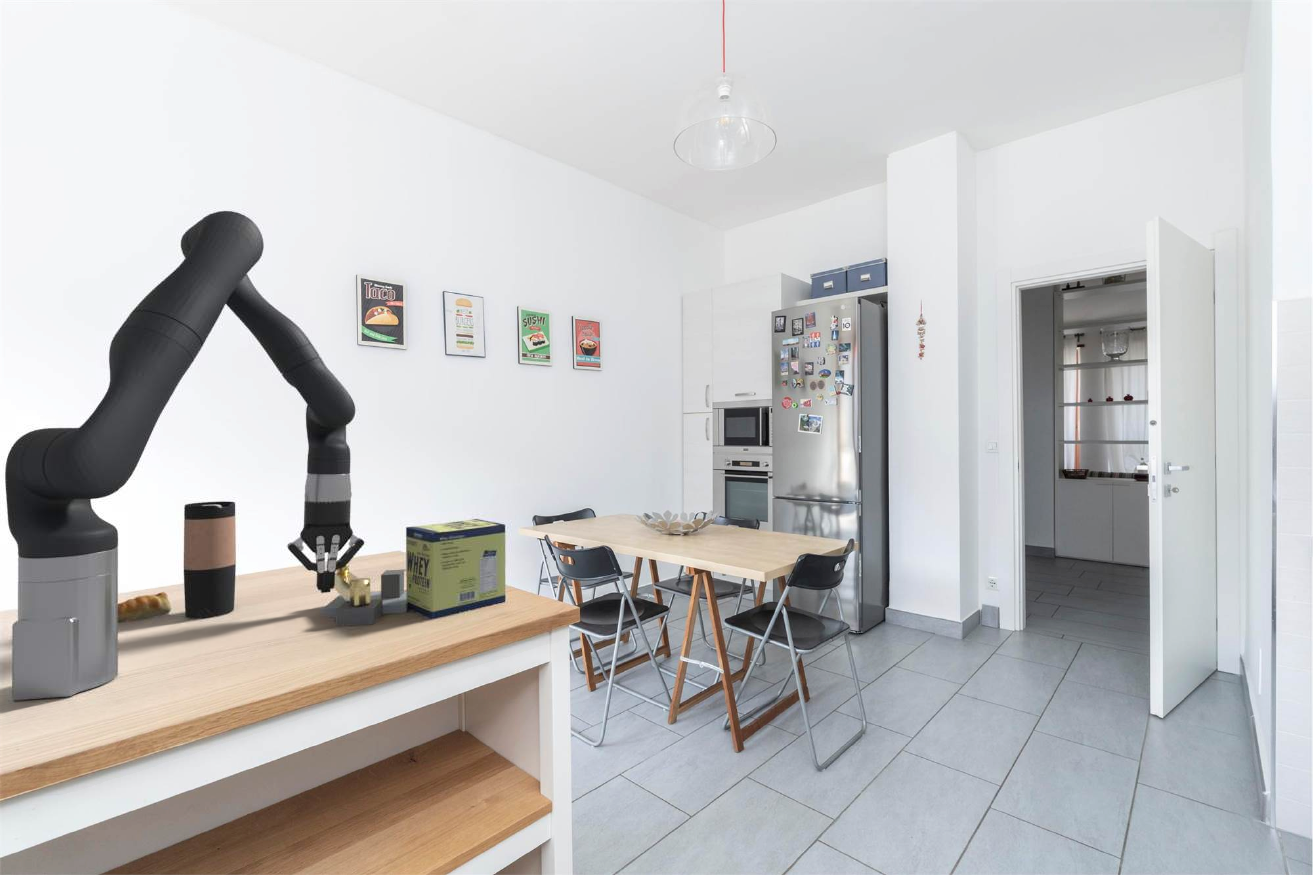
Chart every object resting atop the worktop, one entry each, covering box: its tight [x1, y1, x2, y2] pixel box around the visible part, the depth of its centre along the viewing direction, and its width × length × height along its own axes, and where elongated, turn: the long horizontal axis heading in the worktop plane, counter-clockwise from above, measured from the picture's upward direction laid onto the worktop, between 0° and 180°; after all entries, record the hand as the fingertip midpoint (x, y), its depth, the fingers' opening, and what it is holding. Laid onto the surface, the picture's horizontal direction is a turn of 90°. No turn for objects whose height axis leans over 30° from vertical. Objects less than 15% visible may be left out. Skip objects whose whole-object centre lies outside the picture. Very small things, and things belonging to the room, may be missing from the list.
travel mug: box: [183, 500, 237, 620], centre depth 108 cm, size 8×8×20 cm
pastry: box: [118, 591, 172, 623], centre depth 106 cm, size 9×7×4 cm
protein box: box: [405, 518, 507, 620], centre depth 114 cm, size 10×16×16 cm
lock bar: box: [333, 562, 371, 606], centre depth 109 cm, size 15×3×5 cm, turn 40°
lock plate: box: [322, 569, 409, 627], centre depth 110 cm, size 17×14×6 cm
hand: (325, 591), depth 110 cm, fingers closed
